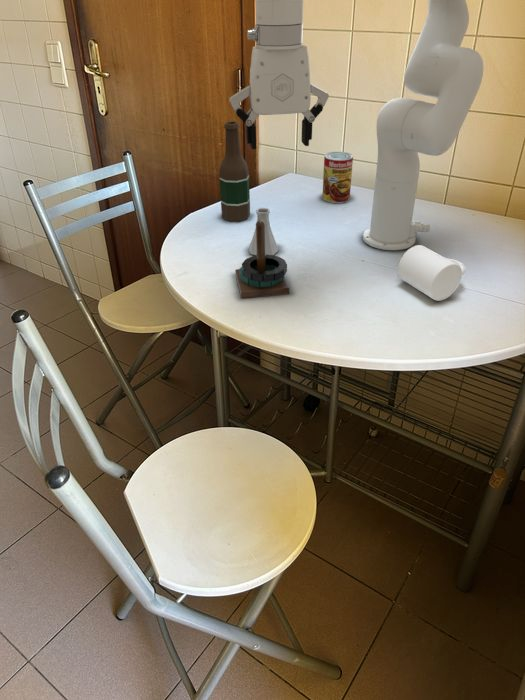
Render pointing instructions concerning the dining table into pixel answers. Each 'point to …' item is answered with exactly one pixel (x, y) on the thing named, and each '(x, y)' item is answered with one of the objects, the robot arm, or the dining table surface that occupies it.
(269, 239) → the flask
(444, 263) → the mug
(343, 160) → the canned food
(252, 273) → the graphite ring
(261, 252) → the stand
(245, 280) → the teal ring
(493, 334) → the dining table surface
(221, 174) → the beer bottle
